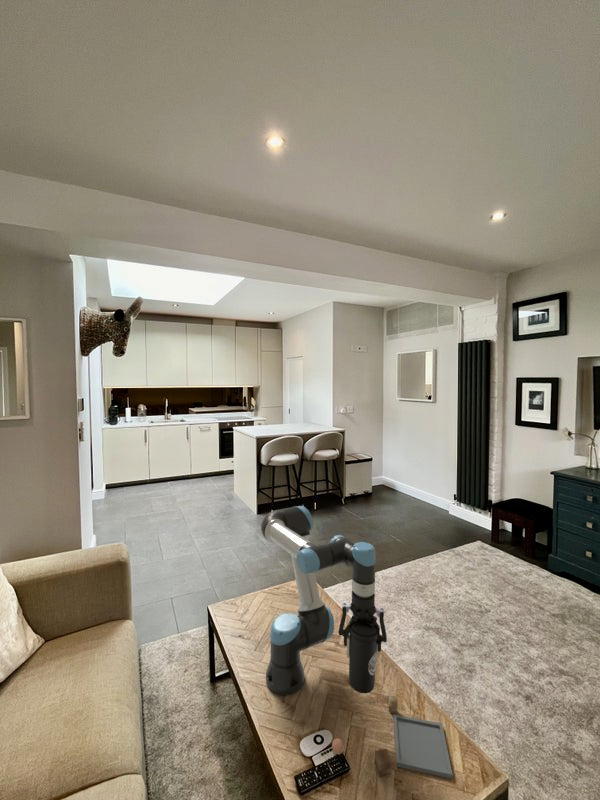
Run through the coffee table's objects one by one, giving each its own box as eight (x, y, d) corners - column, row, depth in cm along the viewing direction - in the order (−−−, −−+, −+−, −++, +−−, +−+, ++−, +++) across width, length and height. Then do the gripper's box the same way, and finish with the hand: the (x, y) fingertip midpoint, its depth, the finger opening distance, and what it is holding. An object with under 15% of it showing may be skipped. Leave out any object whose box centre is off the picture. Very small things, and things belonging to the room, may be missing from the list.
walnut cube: (379, 777, 103) (379, 764, 103) (374, 762, 107) (374, 750, 107) (392, 775, 104) (392, 762, 104) (386, 761, 108) (387, 748, 108)
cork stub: (388, 714, 123) (389, 702, 123) (388, 706, 126) (388, 694, 126) (397, 715, 122) (397, 703, 122) (397, 708, 125) (397, 696, 125)
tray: (396, 766, 106) (396, 762, 106) (393, 717, 122) (393, 713, 122) (452, 778, 103) (452, 774, 103) (441, 727, 118) (441, 723, 118)
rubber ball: (331, 756, 109) (331, 745, 109) (332, 744, 112) (332, 733, 112) (342, 758, 108) (343, 747, 108) (343, 747, 112) (343, 736, 111)
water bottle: (370, 701, 110) (373, 631, 109) (341, 685, 115) (344, 618, 114) (381, 678, 119) (384, 613, 117) (353, 665, 124) (356, 602, 123)
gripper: (330, 593, 114) (329, 660, 115) (397, 602, 110) (395, 671, 111) (332, 581, 121) (331, 643, 123) (395, 589, 117) (394, 653, 118)
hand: (361, 656), depth 117 cm, fingers closed on water bottle, 8 cm apart
